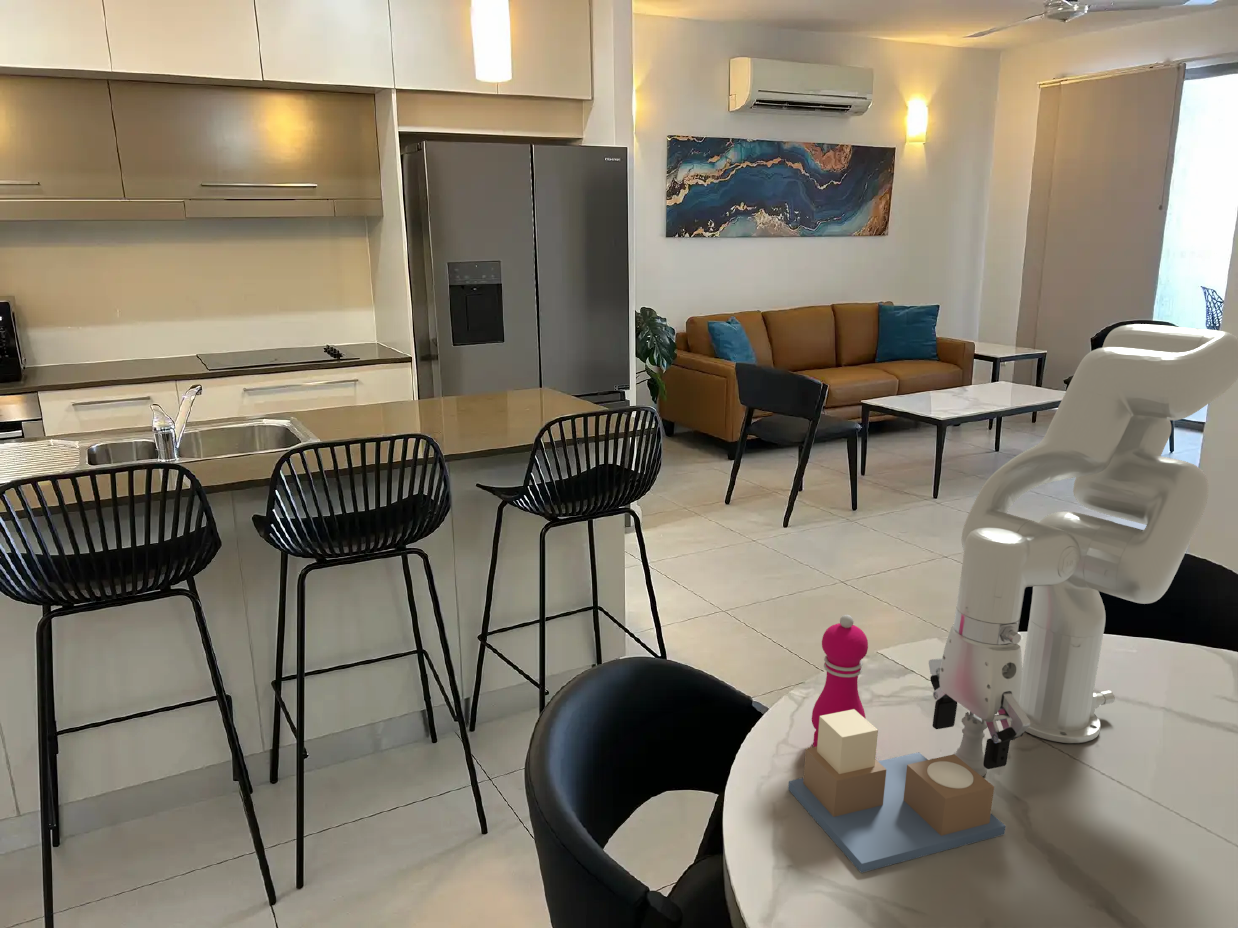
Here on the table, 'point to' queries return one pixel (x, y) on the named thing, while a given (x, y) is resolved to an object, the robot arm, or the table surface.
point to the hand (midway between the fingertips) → (967, 745)
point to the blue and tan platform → (890, 797)
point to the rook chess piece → (972, 743)
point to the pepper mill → (841, 670)
